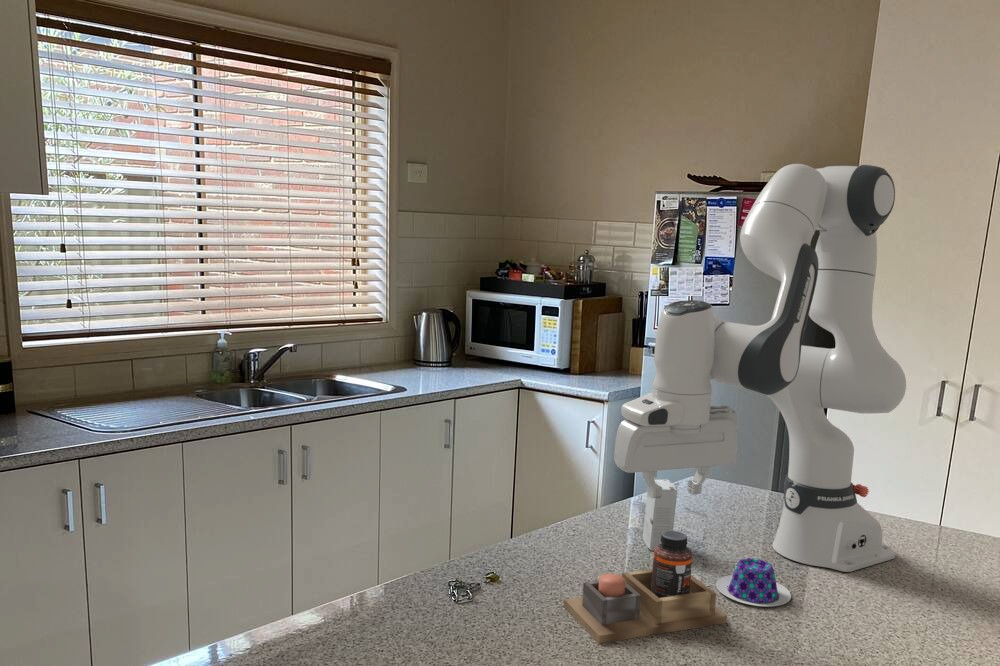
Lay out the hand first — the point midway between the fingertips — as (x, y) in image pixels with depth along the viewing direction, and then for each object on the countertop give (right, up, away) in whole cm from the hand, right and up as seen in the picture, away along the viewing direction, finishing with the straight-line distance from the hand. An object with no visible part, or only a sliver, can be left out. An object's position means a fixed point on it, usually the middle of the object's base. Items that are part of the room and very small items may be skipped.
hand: (674, 495), depth 128 cm
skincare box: (+3, -16, +29) cm, 33 cm away
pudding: (+15, -19, +11) cm, 27 cm away
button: (-10, -16, -1) cm, 19 cm away
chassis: (-4, -19, +1) cm, 19 cm away
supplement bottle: (0, -18, +3) cm, 18 cm away
